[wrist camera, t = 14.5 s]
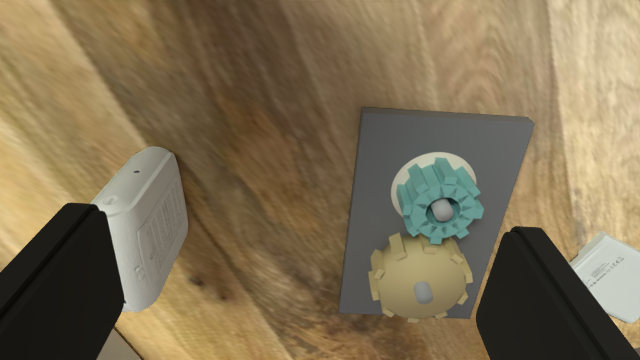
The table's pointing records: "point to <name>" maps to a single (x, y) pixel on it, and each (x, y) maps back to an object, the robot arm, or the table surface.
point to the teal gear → (433, 186)
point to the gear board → (392, 153)
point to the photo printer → (145, 223)
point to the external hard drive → (611, 275)
